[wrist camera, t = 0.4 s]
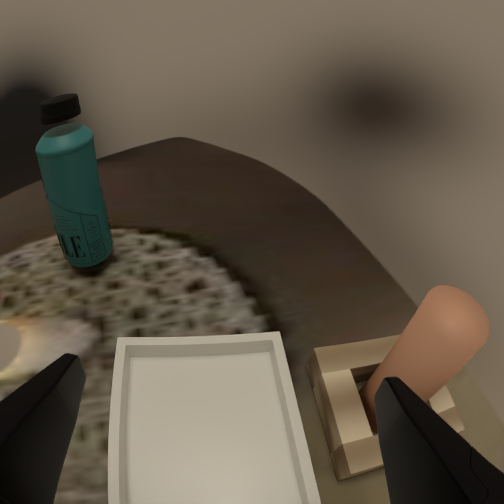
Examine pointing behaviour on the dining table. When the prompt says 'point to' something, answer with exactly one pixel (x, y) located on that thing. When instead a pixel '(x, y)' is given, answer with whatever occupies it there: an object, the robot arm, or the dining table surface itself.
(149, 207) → the dining table surface
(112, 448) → the tray
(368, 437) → the holder
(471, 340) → the dowel
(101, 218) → the beverage bottle
